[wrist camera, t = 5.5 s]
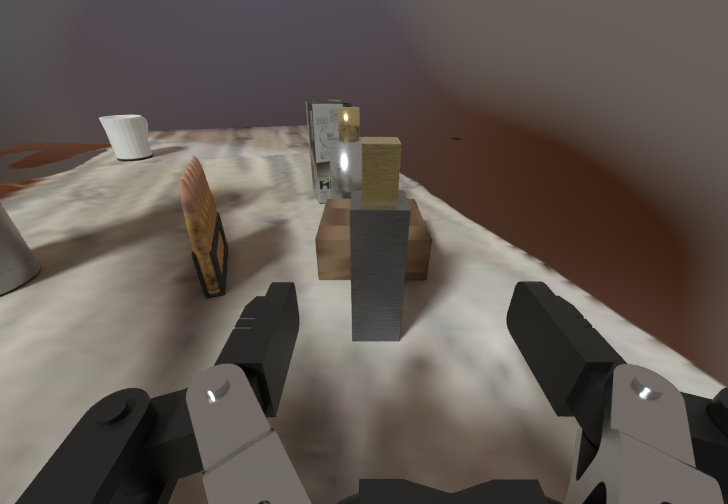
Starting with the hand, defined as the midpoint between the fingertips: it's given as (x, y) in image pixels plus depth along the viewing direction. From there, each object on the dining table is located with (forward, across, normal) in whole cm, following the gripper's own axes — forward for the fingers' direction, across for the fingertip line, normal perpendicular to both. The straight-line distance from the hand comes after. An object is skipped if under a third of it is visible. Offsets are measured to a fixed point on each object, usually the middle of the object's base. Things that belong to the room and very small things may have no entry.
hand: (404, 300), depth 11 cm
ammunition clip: (+21, -19, -12) cm, 30 cm away
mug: (+76, -64, -11) cm, 100 cm away
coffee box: (+47, -8, -12) cm, 49 cm away
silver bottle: (+35, -4, -12) cm, 37 cm away
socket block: (+25, -1, -12) cm, 28 cm away
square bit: (+12, -1, -12) cm, 17 cm away
